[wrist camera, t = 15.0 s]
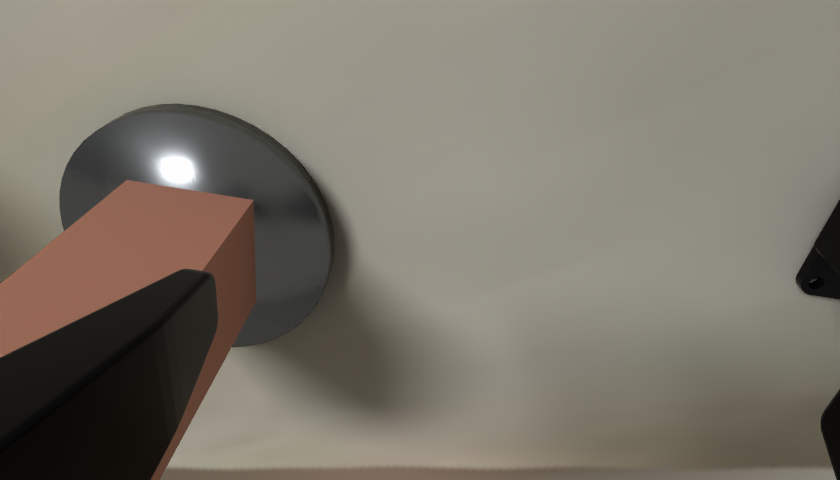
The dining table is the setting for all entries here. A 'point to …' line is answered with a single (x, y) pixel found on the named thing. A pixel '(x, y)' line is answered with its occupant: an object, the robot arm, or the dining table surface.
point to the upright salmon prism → (138, 269)
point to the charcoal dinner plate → (225, 175)
